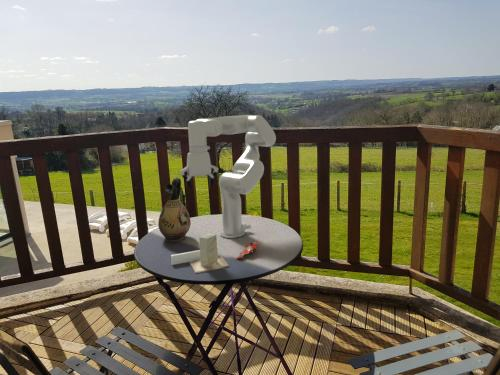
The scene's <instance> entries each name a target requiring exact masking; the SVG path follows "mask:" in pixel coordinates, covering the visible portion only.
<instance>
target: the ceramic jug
mask: <svg viewBox="0 0 500 375" xmlns="http://www.w3.org/2000/svg"><path fill="white" fill-rule="evenodd" d="M181 187H182V180H181V178H180V177H176V178H173V180H171V184H170V183H166V184H165V185H164V191H165V192H166V193H167V194H168V193H169V194H170V195H169V196H170V197H169V198H168V200H167V201H166V202H165V204H164V206H163V208H162V210H161V211H160V213H159V216H158V217H159V218H158V222H157V225H158V229H159V232H160V234H161V235H162V236H163V237H164V240H165V241H166V242H169V243H171V242H172V243H174V242H175V243H176V242H180V241H182V240H184V239H185V236H186V235H187V234H188V232H189V230H190V229H191V224H192V223H191V217H190V214H189V211H188V210H187V208H186V207H185V205H184V204H183V203H182V201H181V200H180V194H181V189H182V188H181Z"/></svg>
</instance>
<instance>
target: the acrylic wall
mask: <svg viewBox="0 0 500 375" xmlns="http://www.w3.org/2000/svg"><path fill="white" fill-rule="evenodd" d="M218 252H219V250H218V247H217V257H218V256H219V253H218ZM170 259H171V262H170V263H171V265H172V266H174V265H180V264H184V263H189V262H192V261H197V260H201V258H200V249H198V250H192V251H187V252H182V253H175V254H171V255H170Z"/></svg>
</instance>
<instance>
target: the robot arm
mask: <svg viewBox="0 0 500 375" xmlns="http://www.w3.org/2000/svg"><path fill="white" fill-rule="evenodd" d="M187 127H188V128H187V129H188V130H187V132H188V148H189V152H188V153H187V156H186V166H184V168H183V169H180V170H179V173H180V175H181V177H182V178H183V179H185V180H186V188H188V190H189V191H190V190H192V182H191V179H192V178H193V177H200V176H209V177H208V187H210V188H213V186H214V178H215V177H216V175H217V173H218V171H219V167H218V166H215V165H213V164H212V162H211V156H210V152H208V150H210V149H211V146H210V145H207V144H208V143H207V137H218V136H220V135H235V134H243V133H245V136H244V137H245V138H244V140H245V148H244V151H243V153H242V154H241V156H240V157H239V158H238V159H237V160H236V162H235V163H234V165H233V166H232V171H228V172H223V173H222V174H221V175H220V176H219V179H218V186H219V189H220V190H219V191H220V195H221V210H222V211H221V216H222V229H221V230H220V231H219V235H220V236H221V237H223V238H226V239H237V237H238V238H240V237H243V236H244V235H245V234H246V231H245V230H246V229H252V228H251V227H252V226H251V224H246V223H244V224H243V223H242V222H243V221H242V198H241V195H249V194H250V193H251V192H252V191H253V190H254V188H255V187H256V185H257V184H258V183H259V181H260V180H261V178H262V177H263V175H264V171H265V166H264V164H263V162H262V161H261V160H260V152H259V147H265V148H268V147H272V146H274V145H275V143H276V140H277V136H276V133H275V131H274V130H273V128H272V127H271V126H270V123H269V122H268V121H267V120H266V119H265V118H264V117H263V116H262V115H258V114H244V115H243V114H241V115H230V116H229V115H228V116H227V115H226V116H219V117H217V116H216V117H205V118H198V119H196V120H190V121H189V122H188V123H187ZM212 169H213V171H212ZM185 172H186V173H187V175H185Z"/></svg>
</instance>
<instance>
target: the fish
mask: <svg viewBox="0 0 500 375" xmlns="http://www.w3.org/2000/svg"><path fill="white" fill-rule="evenodd" d="M258 246H259V241H254V242H248V243H247V244H245V245H244V246H243V247H244V248H245V249H244V250H243V251H241V252H239V255H238V256H236V259H241V258H243V257H244V256H245V255H248V254H250V253H252V252H251V251H253V253H255V252H256V251H257V250H256V248H257V247H258Z"/></svg>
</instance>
